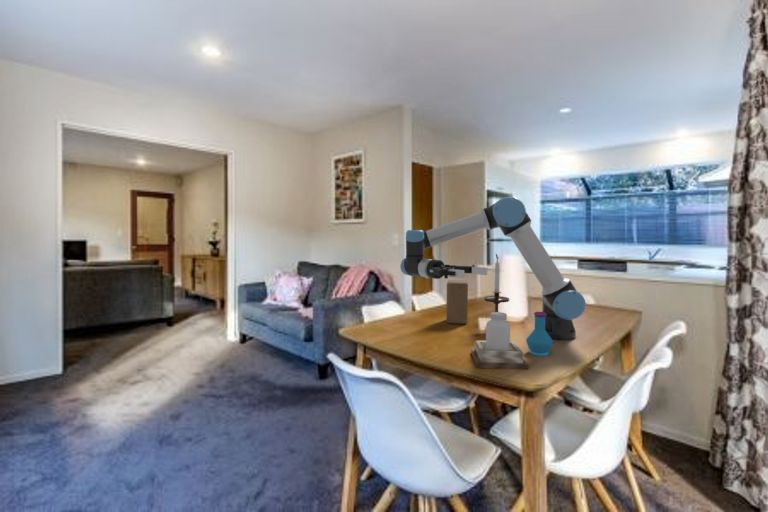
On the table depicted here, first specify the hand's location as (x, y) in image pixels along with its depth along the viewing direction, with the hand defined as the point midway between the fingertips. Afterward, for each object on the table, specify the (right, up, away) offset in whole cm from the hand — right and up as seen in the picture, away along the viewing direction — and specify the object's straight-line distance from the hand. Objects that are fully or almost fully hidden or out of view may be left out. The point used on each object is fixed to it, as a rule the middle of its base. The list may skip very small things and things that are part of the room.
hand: (475, 272), depth 142 cm
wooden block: (+3, -27, +53) cm, 59 cm away
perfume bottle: (+24, -30, +3) cm, 38 cm away
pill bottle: (+6, -29, -6) cm, 30 cm away
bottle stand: (+6, -30, -5) cm, 31 cm away
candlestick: (+18, -28, +38) cm, 50 cm away
